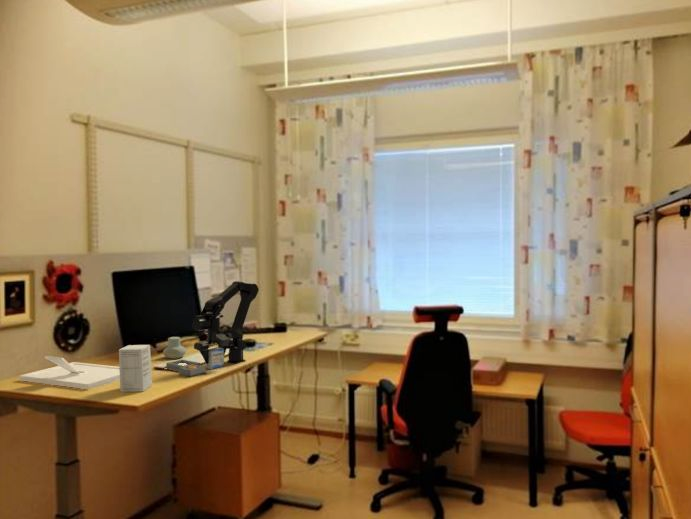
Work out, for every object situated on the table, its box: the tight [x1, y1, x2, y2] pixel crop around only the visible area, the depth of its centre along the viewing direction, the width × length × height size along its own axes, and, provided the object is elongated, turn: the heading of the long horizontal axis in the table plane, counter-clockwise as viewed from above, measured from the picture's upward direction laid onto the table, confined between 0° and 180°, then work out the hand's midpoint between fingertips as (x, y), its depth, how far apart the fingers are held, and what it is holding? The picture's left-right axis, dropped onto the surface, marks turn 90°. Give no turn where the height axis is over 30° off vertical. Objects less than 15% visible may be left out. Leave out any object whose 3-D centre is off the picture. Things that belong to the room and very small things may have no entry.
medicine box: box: [204, 346, 225, 370], centre depth 263 cm, size 8×4×9 cm, turn 148°
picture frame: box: [19, 355, 120, 390], centre depth 247 cm, size 40×12×28 cm
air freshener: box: [162, 336, 187, 360], centre depth 286 cm, size 11×8×10 cm
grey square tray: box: [163, 359, 203, 373], centre depth 262 cm, size 12×14×2 cm
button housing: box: [178, 365, 207, 378], centre depth 250 cm, size 8×8×3 cm
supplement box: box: [118, 344, 153, 393], centre depth 227 cm, size 10×9×17 cm
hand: (214, 362), depth 263 cm, fingers closed on medicine box, 8 cm apart
